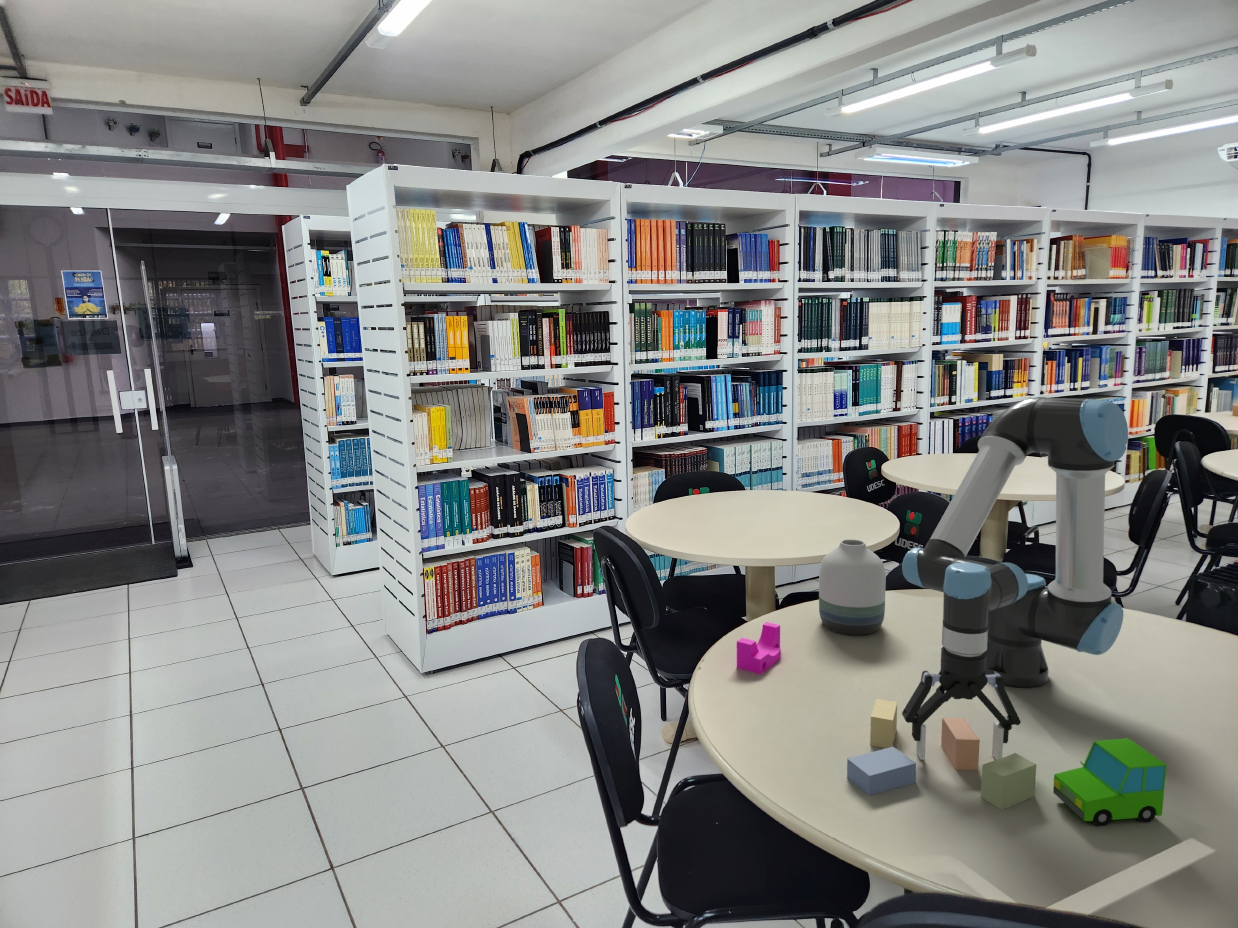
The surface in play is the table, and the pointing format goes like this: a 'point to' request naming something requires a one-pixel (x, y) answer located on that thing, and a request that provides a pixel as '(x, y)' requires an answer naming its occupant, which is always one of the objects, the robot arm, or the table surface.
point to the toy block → (760, 650)
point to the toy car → (1114, 783)
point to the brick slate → (881, 770)
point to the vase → (852, 589)
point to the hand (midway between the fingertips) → (958, 757)
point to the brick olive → (1008, 780)
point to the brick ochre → (883, 723)
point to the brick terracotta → (960, 743)
